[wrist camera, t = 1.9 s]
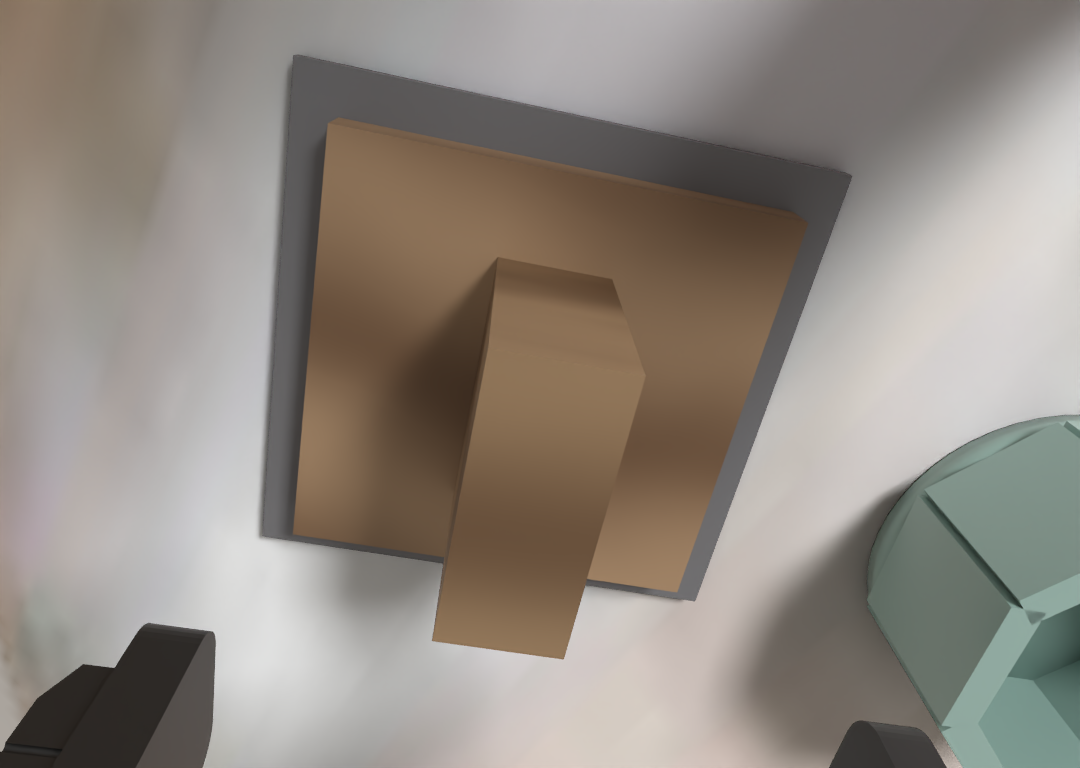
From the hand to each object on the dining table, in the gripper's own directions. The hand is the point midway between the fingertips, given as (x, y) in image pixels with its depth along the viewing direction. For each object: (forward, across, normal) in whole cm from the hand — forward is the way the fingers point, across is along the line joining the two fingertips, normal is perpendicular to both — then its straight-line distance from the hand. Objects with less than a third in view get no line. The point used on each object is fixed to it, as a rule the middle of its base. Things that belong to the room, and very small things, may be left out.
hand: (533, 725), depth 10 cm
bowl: (+10, -15, +3) cm, 18 cm away
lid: (+10, 0, 0) cm, 10 cm away
